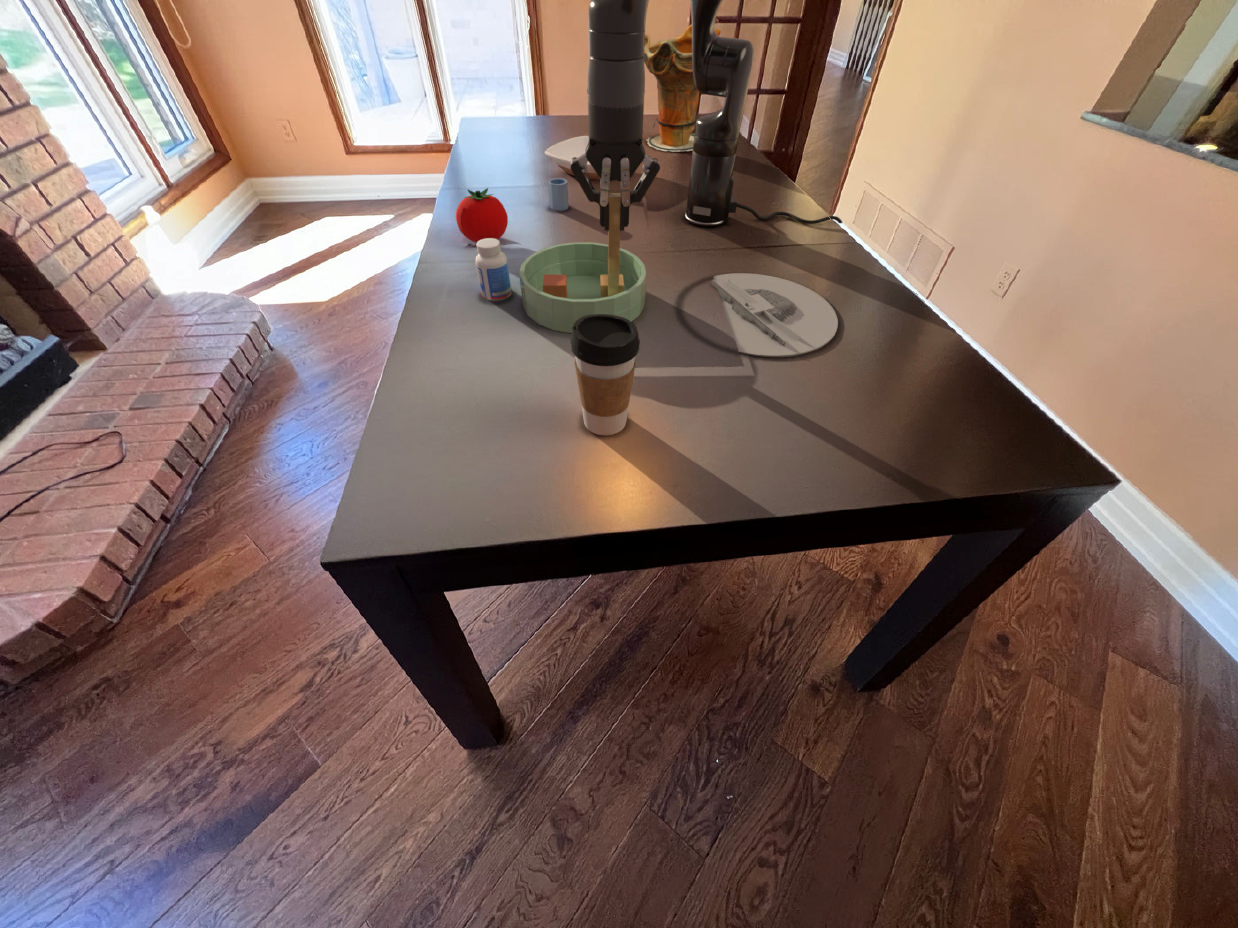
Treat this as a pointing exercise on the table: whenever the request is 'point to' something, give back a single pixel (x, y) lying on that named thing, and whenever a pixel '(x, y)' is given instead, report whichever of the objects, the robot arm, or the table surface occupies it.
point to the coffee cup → (604, 369)
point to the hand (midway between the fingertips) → (614, 228)
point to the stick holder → (558, 194)
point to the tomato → (481, 216)
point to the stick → (614, 243)
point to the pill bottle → (492, 270)
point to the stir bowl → (580, 284)
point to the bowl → (571, 154)
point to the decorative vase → (673, 91)
